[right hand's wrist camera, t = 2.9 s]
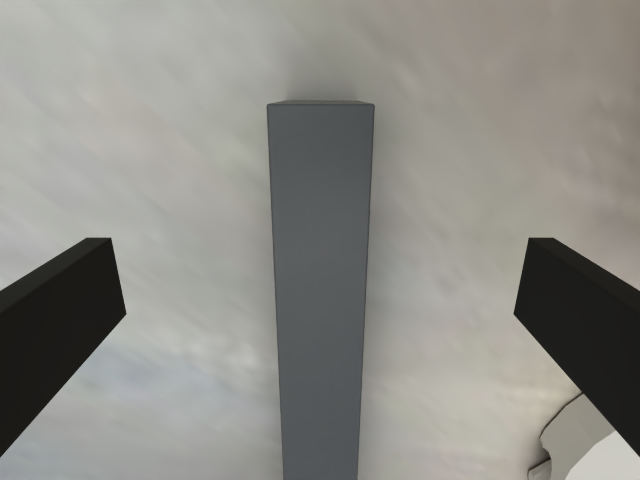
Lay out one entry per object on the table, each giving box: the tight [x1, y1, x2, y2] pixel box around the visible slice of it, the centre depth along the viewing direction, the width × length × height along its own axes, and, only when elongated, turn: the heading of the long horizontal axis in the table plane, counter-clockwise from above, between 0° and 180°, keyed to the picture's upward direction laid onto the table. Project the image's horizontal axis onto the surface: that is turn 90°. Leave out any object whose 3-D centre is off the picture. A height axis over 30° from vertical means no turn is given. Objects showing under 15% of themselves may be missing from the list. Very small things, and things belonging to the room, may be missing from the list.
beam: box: [267, 101, 375, 480], centre depth 31 cm, size 51×5×9 cm, turn 0°
